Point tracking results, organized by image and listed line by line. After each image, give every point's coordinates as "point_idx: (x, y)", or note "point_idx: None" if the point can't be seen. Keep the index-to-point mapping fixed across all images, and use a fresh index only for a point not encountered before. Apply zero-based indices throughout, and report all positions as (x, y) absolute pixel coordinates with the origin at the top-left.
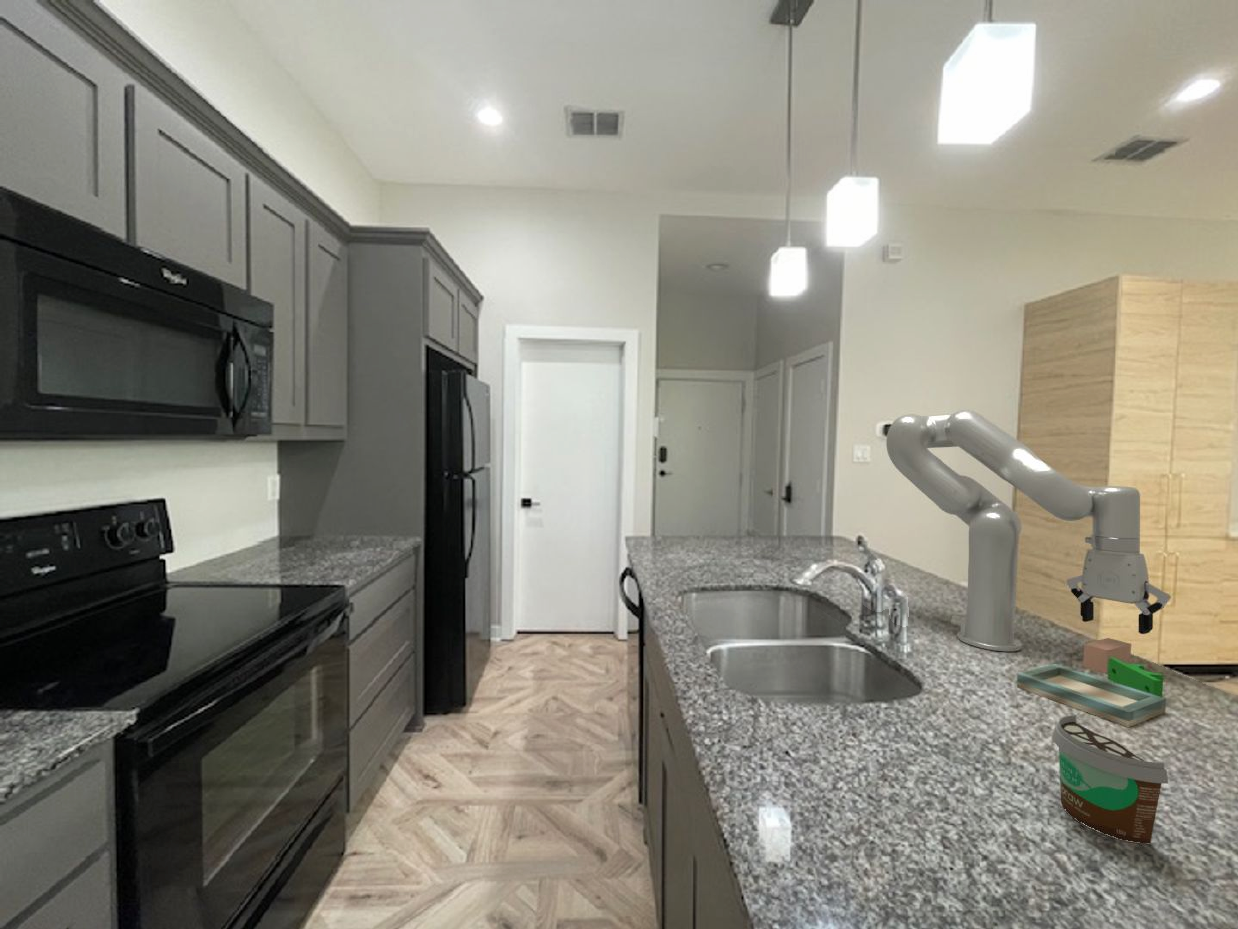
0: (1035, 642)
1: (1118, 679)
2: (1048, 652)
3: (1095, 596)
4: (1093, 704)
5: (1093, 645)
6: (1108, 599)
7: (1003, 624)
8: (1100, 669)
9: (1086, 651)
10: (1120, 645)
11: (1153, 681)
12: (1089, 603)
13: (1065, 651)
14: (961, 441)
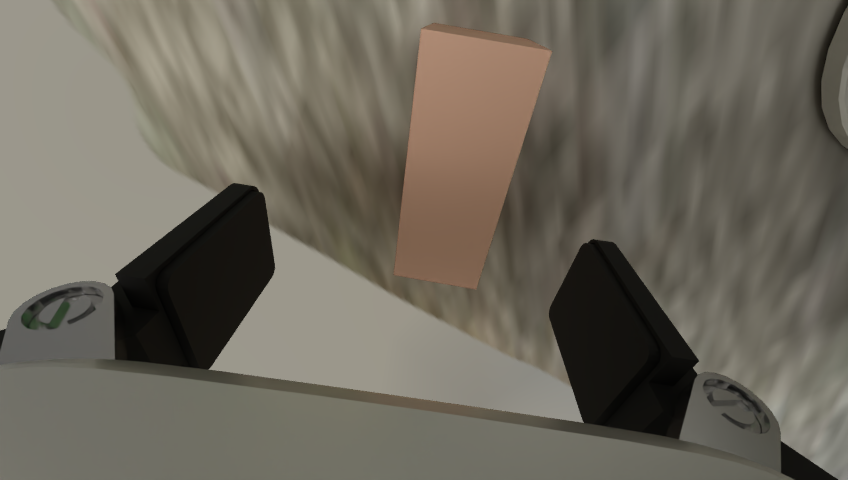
0: (716, 235)
1: None
2: (674, 133)
3: (628, 438)
4: None
5: (502, 69)
6: (419, 404)
7: None
8: (455, 27)
9: (529, 44)
10: (409, 211)
11: None
12: (621, 396)
13: (604, 212)
14: None
